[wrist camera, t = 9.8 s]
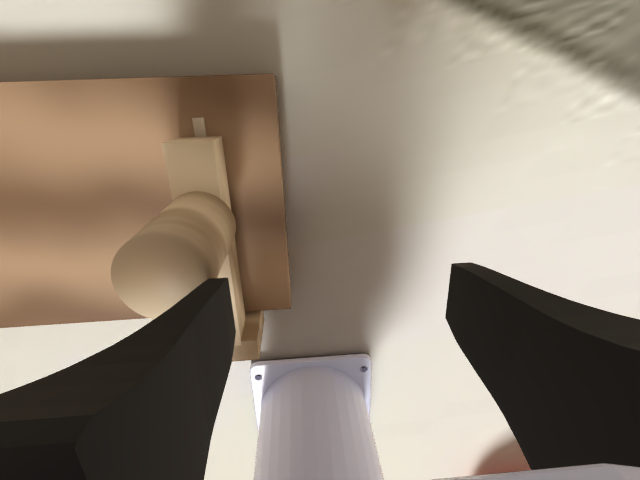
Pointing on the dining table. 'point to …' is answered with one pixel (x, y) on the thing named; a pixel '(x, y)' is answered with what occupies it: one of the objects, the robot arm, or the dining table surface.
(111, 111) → the walnut board
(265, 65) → the dining table surface
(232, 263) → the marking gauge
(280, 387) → the robot arm
